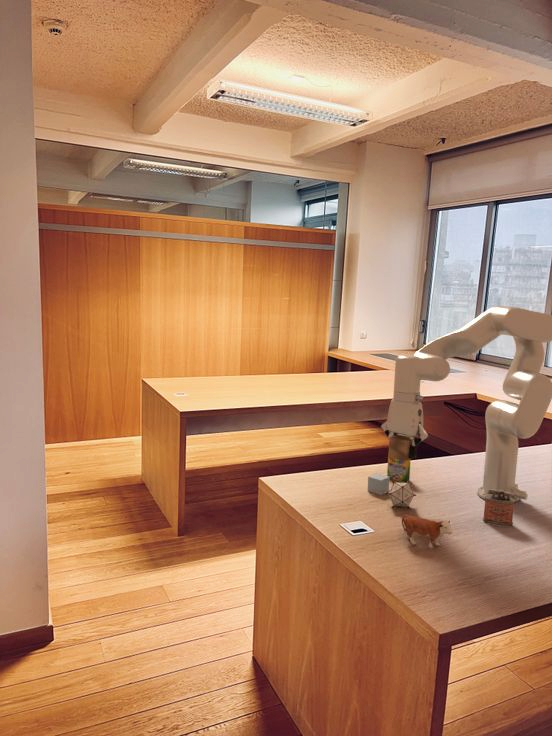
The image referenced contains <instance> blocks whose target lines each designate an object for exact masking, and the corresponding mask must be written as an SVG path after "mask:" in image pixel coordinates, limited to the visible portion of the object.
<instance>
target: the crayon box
mask: <svg viewBox="0 0 552 736" xmlns="http://www.w3.org/2000/svg"><path fill="white" fill-rule="evenodd" d="M388 455H389V451H388ZM411 460H412V459H410V460H407V461H403V460H400V459H396V458H393V457H389V456H387V469H386V470H387V472H386V473H387V474H386V476H389V477H390V479H389V480H393V479H394V481H398V480H399V481H398V482H402V481H403V482H402V483H408V481H410V478H411V477H410V476H411Z"/></svg>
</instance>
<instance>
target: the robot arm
mask: <svg viewBox="0 0 552 736" xmlns="http://www.w3.org/2000/svg"><path fill="white" fill-rule="evenodd" d="M503 335H504V336H508V337H509V336H511V337H513V340H514V343H515V353H514V356H513V359H512V361H511V364H510V366H509V368H508V371H507V373H506V375H505V377H504V379H503V383H502V391H503V393H504V394H505V395H506V396H508V397H509V398H512V399H515V400H518V401H519V403H516V402H513V401H509V400H505V399H497V400H495V401H493V402H491V403H490V404H488V406H487V407H486V410H485V416H484V417H485V419H484V420H485V427H486V444H485V455H484V456H485V457H484V468H483V481H482V482H483V483H482V486H481V487H479V488H477V492H476V493H477V495H478V496H479V497H480V498H481V499H484V500H485V496H487V495H488V496H492V494H488V489H494V490H498V491H499V490H500V489H502V490H504V491H505V492H511V497H510V498H511V499H514V500H515V503H517V502H519V500H521V499H522V500H525V501H527V500H528V496H529V495H528V493H527V491H526V490H525V491H524V490H520V489H519V485H518V484H516V478H517V477H516V476H517V475H516V474H517V467H518V466H517V465H518V455H519V454H518V453H519V439H523V440H524V439H529V438H531V437H533V436H534V435H535V434H536V433H537V432H538V430H539V429H540V427H541V424H542V422H543V420H544V417H545V416H546V414H547V411H548V409H549V406H550V405H551V402H552V380H551V378H549V377H548V376H547V375H544V374H542V373H540V372H541V369H542V366H543V364H544V360H545V349H544V345H543V343H550V342H552V314H548V313H544V312H538V311H535V310H529V309H527V308H525V309H524V308H521V307H515V306H502V305H496V306H492V307H490V308H488V309H486V310H485V311H484V312H482V313H481V314H479V315H478V316H476V318H474V319H472V320H471V321H470V322H468V323H466V324H465V325H464V326H462V327H461V328H459V329H458V330H456V331H453V332H450V333H448V334H446V335H444V336H443V335H442V336H441V337H438V338H436V339H434V340H432V341H430V342H428V343H427V344H426V345H424V346H423V347H421V348H419V349H418V350H417V351H416V352H415V353H414V354H405V355H404V354H401V355H398V356H397V357H396V359H395V365H394V366H395V367H394V383H393V398H392V399H391V401H390V404H389V408H388V413H387V420H386V421H384V422H383V423H382V424H381V425H380V427H381V429H382V430H383V432H384V434H385V435H386V437H387V440H388V441H389V438H390V437H392V436H395V435H398V434H402V435H406V436H409V438H410V442H411V445H410V447H409V458H410V459H411V460H412V459H414V457H415V458H417V456H418V455H417V454H418V445H420V444H421V443H422V442H423V441H424V440H426V439H427V438H428V437H429V435H428V433H427V431H426V430H425V429H424V410H423V404H422V402H420V401H423V399H424V396H423V395H421V389H420V388H421V381H426V382H427V381H429V382H440V381H444V380H445V379H446V378H447V377H448V376H449V374H450V371H451V367H450V364H449V361H447V360H448V359H452V358H454V357H459V356H467V355H468V356H469V355H472V354H475V353H478V352H479V351H480V350H482V349H483V348H484V347H486V346H487V345H489V344H490V343H491V342H493V341H495V339H497V338H498V337H500V336H503ZM419 435H420V436H419ZM495 496H497V495H495ZM505 497H506V498H507V496H505Z"/></svg>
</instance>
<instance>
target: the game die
mask: <svg viewBox="0 0 552 736" xmlns="http://www.w3.org/2000/svg"><path fill="white" fill-rule="evenodd" d="M391 480H392V485H391V487H390V488H389V491H388V492H386V495H389V498H390V501H391V503H392V507H391V509H394V508H395V507H406V508H408V509H409V510H410V509H411V507H410V504H411V503H412V500H413V498H414V497H416V496H417V494H414V492H413V490H412V487H411V485H410V482H411V481H410V480H409V481H408V482H400V481H397V482H396V481H395V480H393V479H391Z"/></svg>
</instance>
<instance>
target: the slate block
mask: <svg viewBox="0 0 552 736" xmlns="http://www.w3.org/2000/svg"><path fill="white" fill-rule="evenodd" d="M390 480H391V479H390V477H389V476H387V475H384V474H382V473H378V472H376V473H373V474H371V475H368V477H367V492H370V493H374V494H376V495H380V496H381V495H384V494H385V492H386V493H388V492H390ZM387 491H388V492H387Z"/></svg>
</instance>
